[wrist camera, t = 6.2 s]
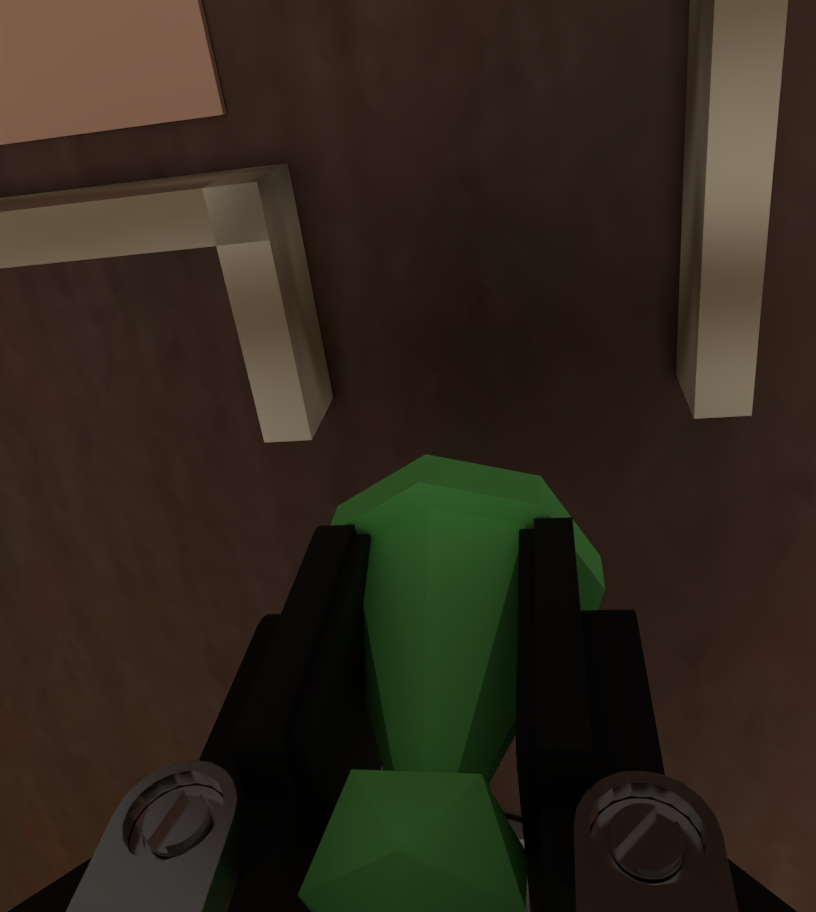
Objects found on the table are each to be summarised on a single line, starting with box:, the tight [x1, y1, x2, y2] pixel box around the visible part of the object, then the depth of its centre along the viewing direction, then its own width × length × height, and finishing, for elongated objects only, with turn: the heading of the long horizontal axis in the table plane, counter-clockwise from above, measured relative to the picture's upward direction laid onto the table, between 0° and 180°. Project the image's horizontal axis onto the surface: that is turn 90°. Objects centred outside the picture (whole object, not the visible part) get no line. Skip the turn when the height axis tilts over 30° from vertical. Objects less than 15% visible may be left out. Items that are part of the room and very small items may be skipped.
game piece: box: [298, 454, 605, 912], centre depth 9 cm, size 4×4×6 cm
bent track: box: [0, 0, 788, 443], centre depth 20 cm, size 20×23×3 cm
